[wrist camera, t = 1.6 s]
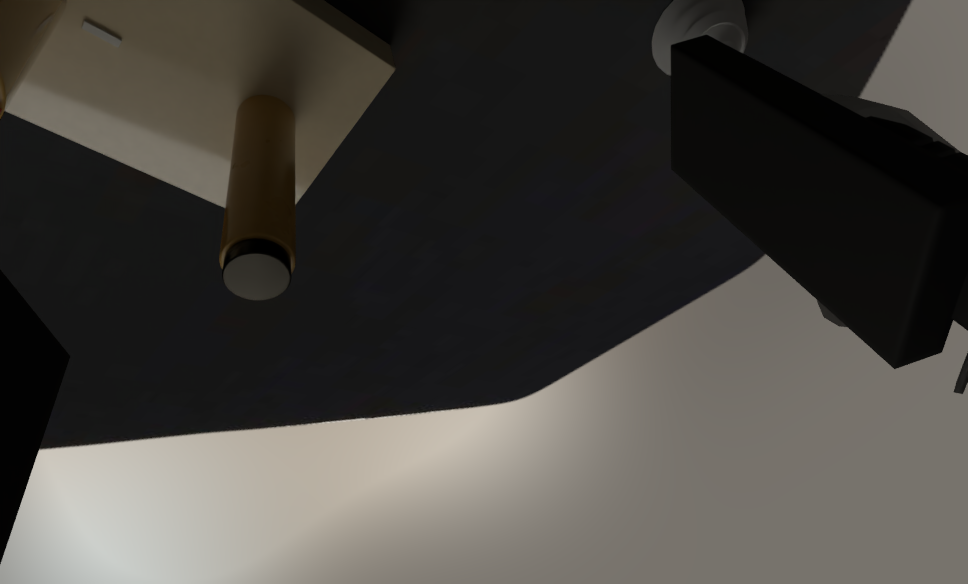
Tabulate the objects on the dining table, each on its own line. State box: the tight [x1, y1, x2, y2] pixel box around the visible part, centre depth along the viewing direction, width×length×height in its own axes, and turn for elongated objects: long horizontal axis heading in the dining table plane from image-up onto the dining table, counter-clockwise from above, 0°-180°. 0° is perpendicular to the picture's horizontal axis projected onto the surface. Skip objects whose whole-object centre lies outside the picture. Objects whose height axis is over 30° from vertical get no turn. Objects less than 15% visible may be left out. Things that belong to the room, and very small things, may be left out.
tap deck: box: [6, 0, 396, 208], centre depth 28 cm, size 19×11×3 cm, turn 49°
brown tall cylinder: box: [219, 95, 296, 300], centre depth 28 cm, size 3×3×12 cm
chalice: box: [652, 0, 960, 327], centre depth 29 cm, size 7×7×18 cm
